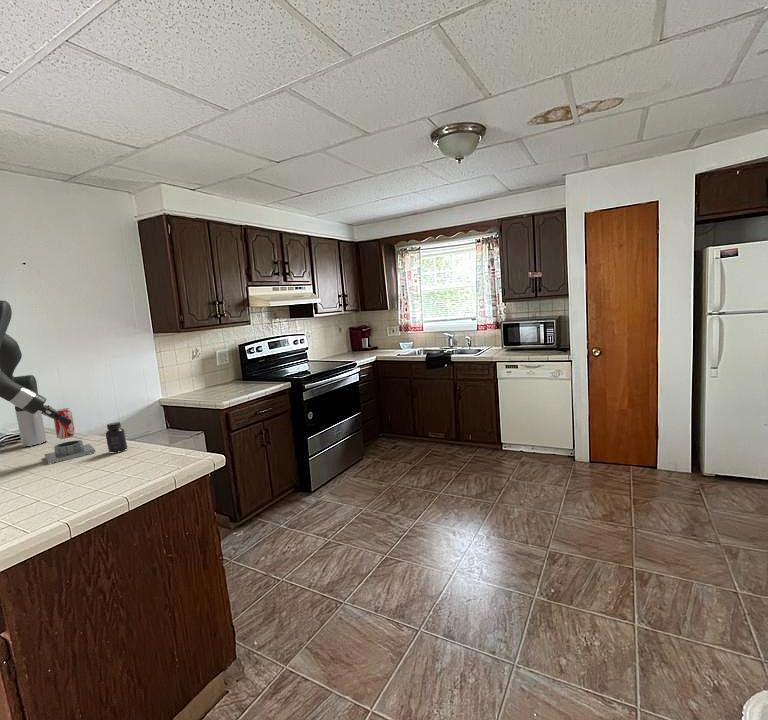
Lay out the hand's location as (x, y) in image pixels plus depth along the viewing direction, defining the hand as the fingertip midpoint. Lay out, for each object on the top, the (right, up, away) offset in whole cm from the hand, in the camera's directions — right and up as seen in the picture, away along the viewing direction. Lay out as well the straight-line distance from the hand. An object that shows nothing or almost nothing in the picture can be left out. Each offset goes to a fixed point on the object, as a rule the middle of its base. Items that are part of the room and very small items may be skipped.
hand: (69, 422), depth 182 cm
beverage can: (-1, -7, 0) cm, 7 cm away
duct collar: (0, -14, +1) cm, 14 cm away
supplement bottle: (+21, -12, 0) cm, 24 cm away
